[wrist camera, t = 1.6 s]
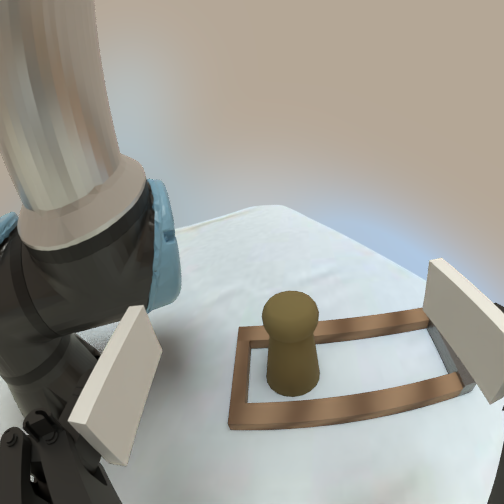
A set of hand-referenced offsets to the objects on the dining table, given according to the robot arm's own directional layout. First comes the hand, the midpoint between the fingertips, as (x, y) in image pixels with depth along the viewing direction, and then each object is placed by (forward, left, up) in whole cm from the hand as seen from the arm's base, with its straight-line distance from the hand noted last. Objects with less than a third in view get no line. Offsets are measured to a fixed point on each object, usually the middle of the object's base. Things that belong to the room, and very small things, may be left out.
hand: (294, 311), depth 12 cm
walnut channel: (+6, +11, -19) cm, 23 cm away
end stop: (+20, +11, -19) cm, 29 cm away
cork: (0, +11, -19) cm, 22 cm away
